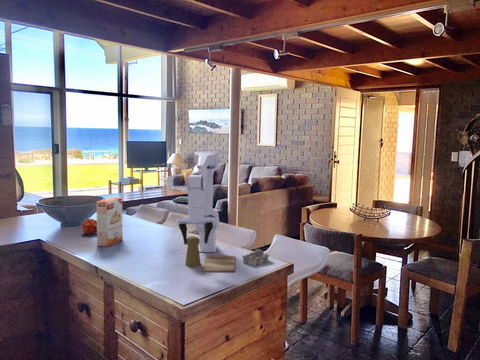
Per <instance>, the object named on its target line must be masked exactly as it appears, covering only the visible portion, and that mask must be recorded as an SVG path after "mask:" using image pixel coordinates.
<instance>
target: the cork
mask: <svg viewBox="0 0 480 360" xmlns="http://www.w3.org/2000/svg"><path fill="white" fill-rule="evenodd" d="M199 242H200V240H199V237H198V236H194V235H193V236H189V237H187V244H186V246H187V250H186V257H185V263H184V264H185V266H187V267H190V268H191V267H194V268H195V267H198V266H199V267H200V266H201V264H202V263H201V257H200V252H199Z"/></svg>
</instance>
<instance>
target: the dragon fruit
mask: <svg viewBox="0 0 480 360" xmlns="http://www.w3.org/2000/svg"><path fill="white" fill-rule="evenodd" d="M81 229H82V232H83V234H88V235H89V236H93V234H97V219H93V218H87V219H85V220H84V221H83V223H82V224H81Z"/></svg>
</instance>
